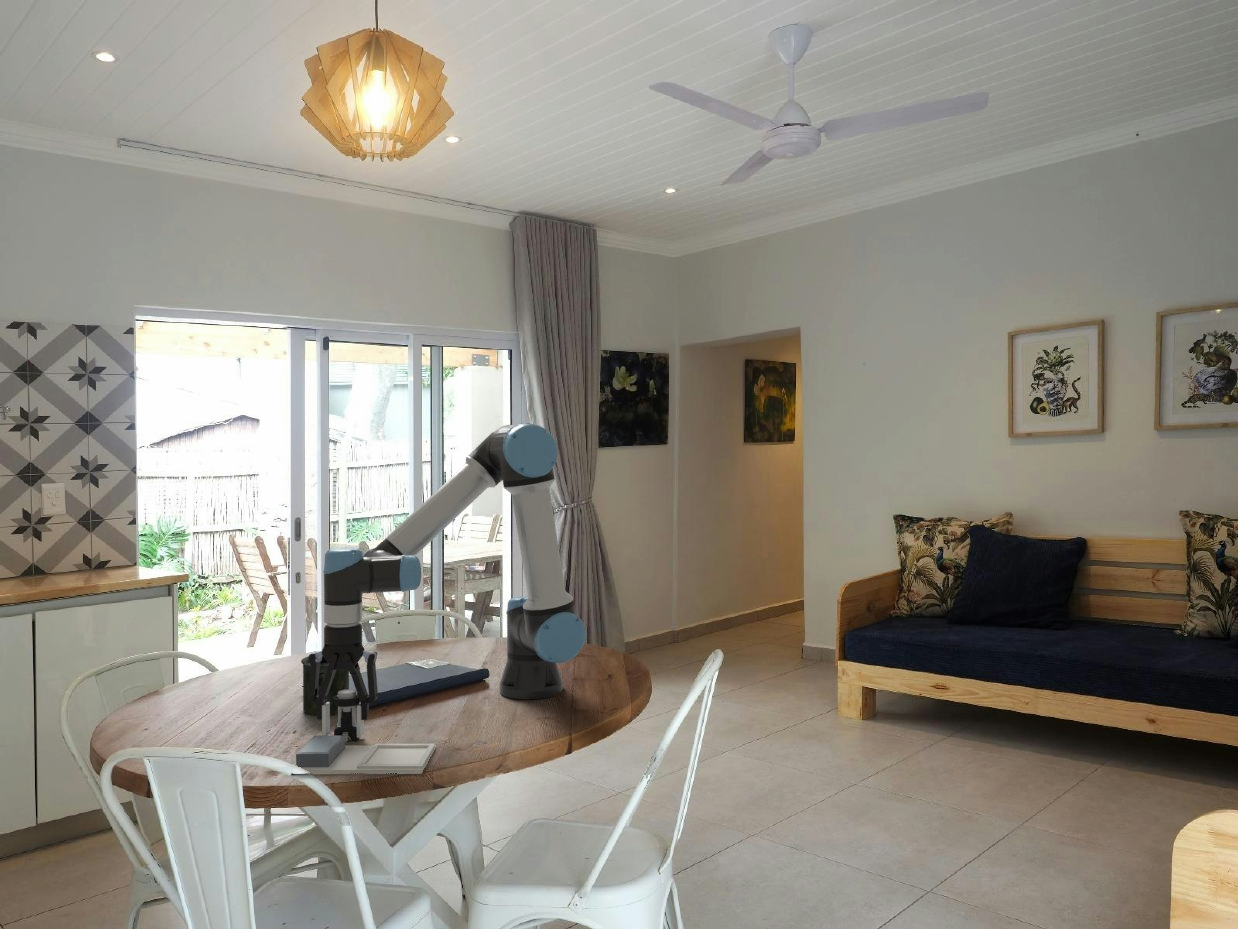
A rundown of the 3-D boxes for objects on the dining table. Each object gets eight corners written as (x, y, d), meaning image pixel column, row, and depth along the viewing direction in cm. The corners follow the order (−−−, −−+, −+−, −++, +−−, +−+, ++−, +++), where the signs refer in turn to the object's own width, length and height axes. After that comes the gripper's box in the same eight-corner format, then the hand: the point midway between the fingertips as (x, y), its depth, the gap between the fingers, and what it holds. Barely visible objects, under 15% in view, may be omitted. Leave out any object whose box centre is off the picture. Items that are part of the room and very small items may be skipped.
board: (435, 749, 182) (435, 742, 182) (421, 774, 168) (421, 767, 168) (314, 749, 182) (314, 743, 182) (290, 774, 168) (290, 767, 168)
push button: (323, 744, 185) (323, 695, 185) (331, 736, 190) (330, 688, 190) (356, 744, 185) (356, 695, 185) (363, 736, 191) (363, 688, 191)
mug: (354, 703, 216) (354, 652, 215) (343, 721, 201) (342, 667, 201) (307, 704, 214) (307, 653, 214) (292, 722, 200) (291, 668, 200)
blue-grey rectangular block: (345, 748, 180) (345, 735, 180) (328, 767, 169) (328, 753, 169) (314, 748, 180) (314, 735, 180) (296, 767, 169) (296, 753, 169)
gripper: (394, 620, 192) (394, 730, 192) (302, 620, 191) (302, 730, 192) (386, 627, 184) (385, 741, 184) (289, 627, 184) (289, 741, 184)
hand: (343, 735), depth 188 cm, fingers closed on push button, 6 cm apart
